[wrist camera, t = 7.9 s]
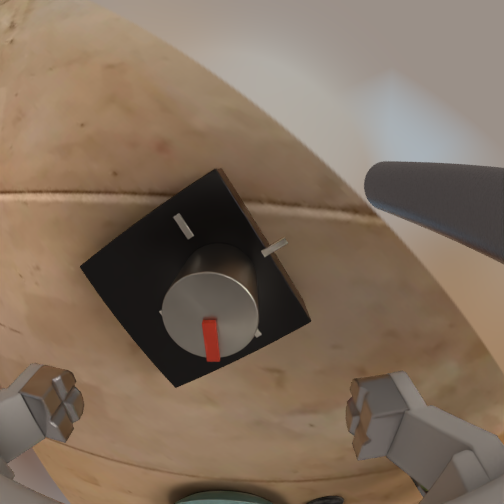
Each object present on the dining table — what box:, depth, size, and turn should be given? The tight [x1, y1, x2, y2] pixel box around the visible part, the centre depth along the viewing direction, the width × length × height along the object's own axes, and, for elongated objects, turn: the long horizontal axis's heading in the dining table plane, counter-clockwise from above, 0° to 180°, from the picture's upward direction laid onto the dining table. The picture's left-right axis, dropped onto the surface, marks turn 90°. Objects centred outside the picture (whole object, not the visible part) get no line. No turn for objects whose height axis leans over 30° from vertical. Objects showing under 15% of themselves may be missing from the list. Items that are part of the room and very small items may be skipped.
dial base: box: [80, 168, 311, 388], centre depth 18 cm, size 11×10×3 cm
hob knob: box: [162, 243, 259, 362], centre depth 14 cm, size 4×4×5 cm
